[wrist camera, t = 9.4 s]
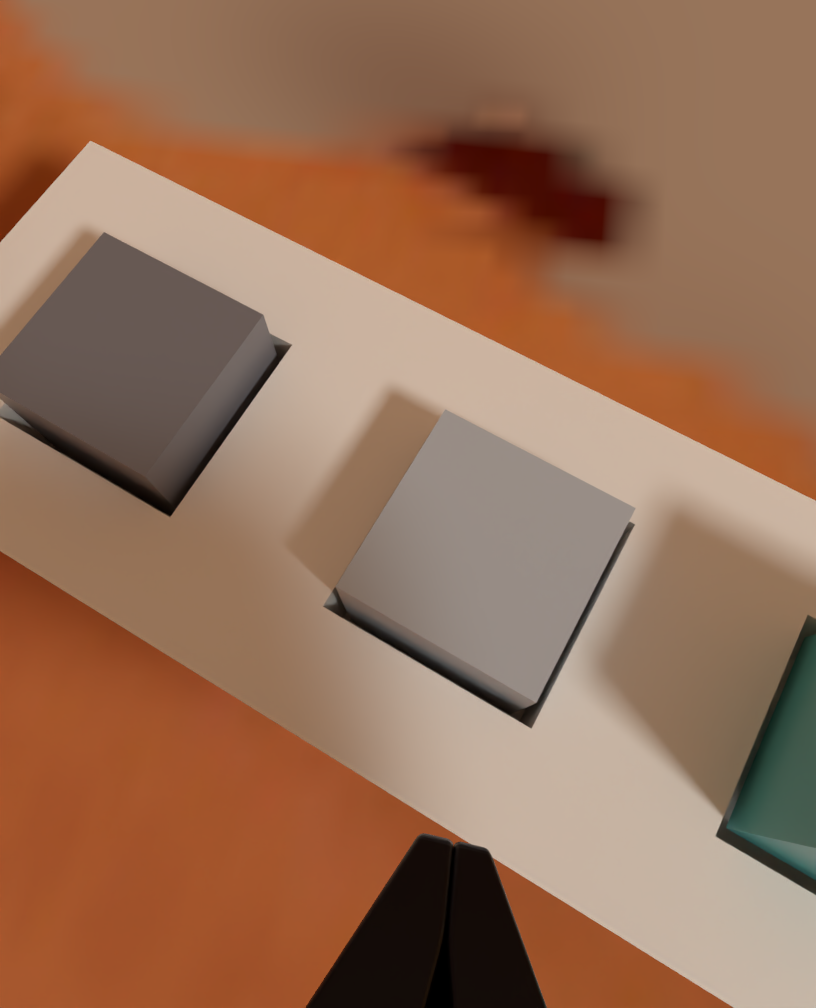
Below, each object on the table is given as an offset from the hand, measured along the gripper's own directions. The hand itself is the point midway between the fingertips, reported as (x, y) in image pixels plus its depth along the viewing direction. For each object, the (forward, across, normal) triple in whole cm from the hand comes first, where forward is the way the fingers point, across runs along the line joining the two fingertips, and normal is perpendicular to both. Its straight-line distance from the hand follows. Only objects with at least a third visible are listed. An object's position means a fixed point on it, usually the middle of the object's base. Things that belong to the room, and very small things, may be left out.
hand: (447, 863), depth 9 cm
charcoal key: (+12, +9, 0) cm, 15 cm away
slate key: (+10, 0, +2) cm, 10 cm away
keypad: (+12, 0, +5) cm, 13 cm away
